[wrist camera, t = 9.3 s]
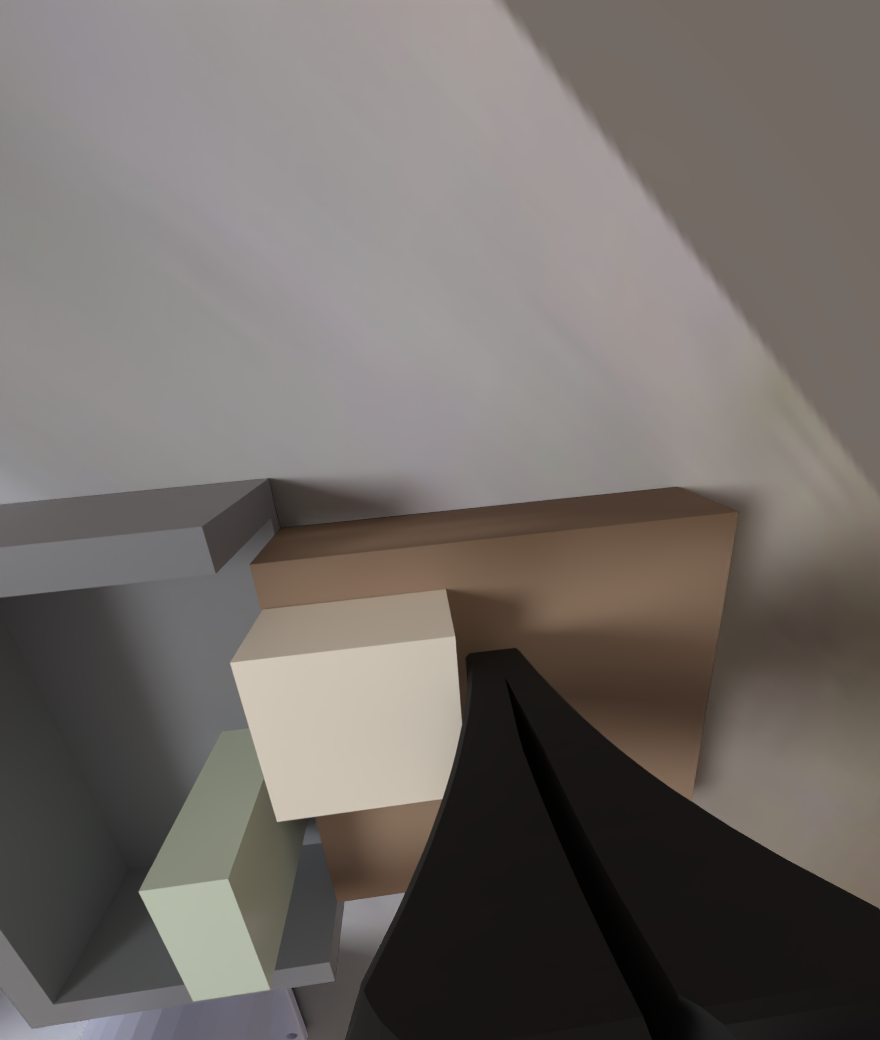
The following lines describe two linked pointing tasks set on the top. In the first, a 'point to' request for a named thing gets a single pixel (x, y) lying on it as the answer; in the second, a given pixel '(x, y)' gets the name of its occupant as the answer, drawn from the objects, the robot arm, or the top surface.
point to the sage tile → (225, 876)
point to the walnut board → (534, 626)
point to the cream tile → (352, 702)
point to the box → (123, 737)
